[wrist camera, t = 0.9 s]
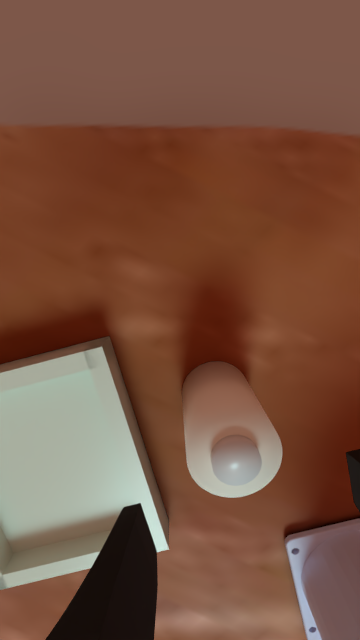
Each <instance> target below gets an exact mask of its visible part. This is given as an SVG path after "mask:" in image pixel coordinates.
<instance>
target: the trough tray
mask: <svg viewBox="0 0 360 640" xmlns="http://www.w3.org/2000/svg"><path fill="white" fill-rule="evenodd" d="M138 503H141V506H142V509H143V512H144V515H145V518H146V520H147V523H148V526H149V529H150V532H151V535H152V538H153V541H154V544H155V547H156V550H157V552H160V551H164V550H168V549H169V520H168V517H167V514H166V510H165V507H164V504H163V501H162V498H161V495H160V492H159V489H158V486H157V482H156V479H155V476H154V473H153V470H152V467H151V464H150V461H149V458H148V454H147V451H146V448H145V445H144V442H143V439H142V436H141V433H140V430H139V426H138V423H137V420H136V417H135V414H134V411H133V408H132V405H131V402H130V399H129V395H128V392H127V389H126V386H125V383H124V380H123V377H122V374H121V371H120V367H119V364H118V361H117V358H116V355H115V352H114V349H113V346H112V343H111V339H110V336H107V337H104V338H100V339H96V340H92V341H88V342H84V343H81V344H77V345H73V346H69V347H65V348H61V349H58V350H54V351H50V352H46V353H42V354H39V355H35V356H31V357H27V358H23V359H19V360H16V361H12V362H8V363H4V364H0V590H1V589H6V588H10V587H14V586H18V585H22V584H26V583H31V582H35V581H39V580H43V579H47V578H51V577H56V576H60V575H64V574H68V573H72V572H76V571H81V570H85V569H89V568H91V567H92V565H93V564H94V562H95V560H96V558H97V556H98V555H99V553H100V551H101V549H102V547H103V545H104V543H105V541H106V540H107V538H108V536H109V534H110V532H111V530H112V528H113V526H114V524H115V522H116V520H117V518H118V516H119V514H120V512H121V510H122V509H123V507H126V506H130V505H134V504H138Z"/></svg>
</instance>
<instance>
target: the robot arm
mask: <svg viewBox="0 0 360 640" xmlns="http://www.w3.org/2000/svg"><path fill="white" fill-rule="evenodd" d="M346 457H347V463H348V469H349V475H350V481H351V487H352V493H353V499H354V503H355V505H356V507H357V508H358V510H359V512H360V449H358V450H354V451H350V452H346ZM285 546H286V550H287V555H288V559H289V563H290V568H291V572H292V576H293V581H294V585H295V590H296V594H297V598H298V603H299V607H300V611H301V616H302V620H303V624H304V629H305V633H306V637H307V640H360V518H358V519H354V520H350V521H345V522H341V523H337V524H333V525H329V526H324V527H320V528H316V529H312V530H308V531H304V532H299V533H295V534H291V535H288V536H287V537H286V538H285ZM294 548H295V549H294ZM157 586H158V584H157V550H156V547H155V544H154V541H153V538H152V535H151V532H150V529H149V526H148V523H147V520H146V518H145V515H144V512H143V509H142V506H141V503H138V504H134V505H130V506H126V507H123V509H122V510H121V512H120V514H119V516H118V518H117V520H116V522H115V524H114V526H113V528H112V530H111V532H110V534H109V536H108V538H107V540H106V541H105V543H104V545H103V547H102V549H101V551H100V553H99V555H98V556H97V558H96V560H95V562H94V564H93V565H92V567H91V569H90V571H89V573H88V574H87V576H86V578H85V579H84V581H83V583H82V584H81V586H80V588H79V589H78V591H77V593H76V594H75V596H74V598H73V599H72V601H71V603H70V604H69V606H68V607H67V609H66V610H65V612H64V613H63V615H62V616H61V618H60V619H59V621H58V622H57V624H56V625H55V627H54V628H53V630H52V631H51V633H50V634H49V635H48V637H47V638H46V640H154V629H155V616H156V601H157Z"/></svg>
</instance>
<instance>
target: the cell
mask: <svg viewBox="0 0 360 640" xmlns="http://www.w3.org/2000/svg"><path fill="white" fill-rule="evenodd" d="M182 404H183V418H184V431H185V445H186V458H187V466H188V469H189V472H190V474H191V476H192V478H193V479H194V480H195V482H196V483H197V484H198V485H199V486H200V487H202V488H203V489H204V490H206V491H208V492H209V493H212V494H214V495H217V496H221V497H231V498H233V497H242V496H246V495H250V494H252V493H255V492H257V491H258V490H260V489H262V488H263V487H265V486H266V485H267V484H268V483H269V482H270V481H271V480H272V479H273V478H274V476H275V475H276V473H277V472H278V469H279V467H280V464H281V461H282V444H281V441H280V438H279V436H278V434H277V432H276V430H275V429H274V427H273V425H272V423H271V422H270V420H269V418H268V416H267V415H266V413H265V411H264V409H263V408H262V406H261V404H260V402H259V401H258V399H257V397H256V395H255V394H254V392H253V390H252V389H251V387H250V385H249V383H248V382H247V380H246V378H245V376H244V375H243V373H242V372H241V371H240V370H239V369H238V368H236V367H235V366H233V365H231V364H229V363H226V362H221V361H212V362H207V363H204V364H201V365H199V366H198V367H196V368H195V369H193V370H192V371H191V372H190V373H189V374H188V376H187V377H186V379H185V381H184V384H183V387H182Z"/></svg>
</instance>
